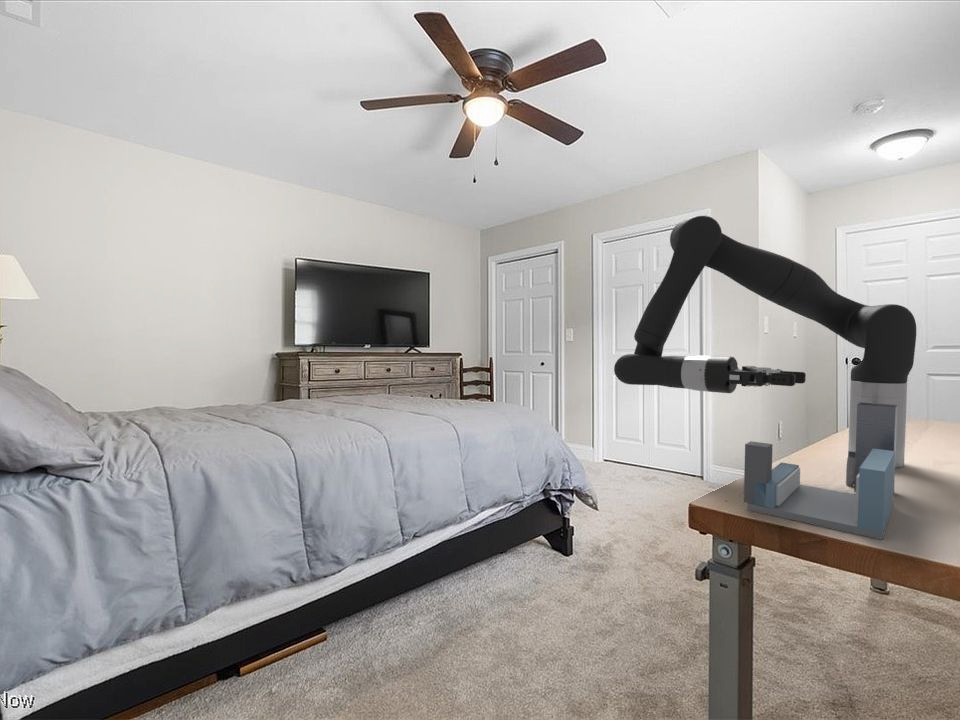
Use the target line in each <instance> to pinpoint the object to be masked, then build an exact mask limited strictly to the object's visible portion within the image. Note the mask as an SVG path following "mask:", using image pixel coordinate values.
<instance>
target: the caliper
mask: <svg viewBox="0 0 960 720" xmlns="http://www.w3.org/2000/svg"><path fill="white" fill-rule="evenodd" d="M855 454H856V452H853V451H849V452H848V451H847V459H846V471H845V473H846V474H845V477H846V478H845V484H846V486H847V485H848V486H853V487H854V484H855Z"/></svg>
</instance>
